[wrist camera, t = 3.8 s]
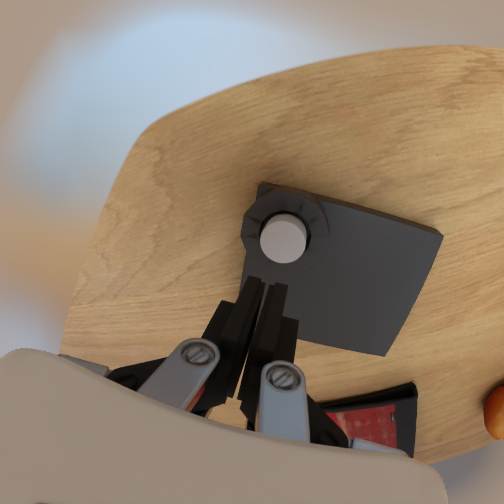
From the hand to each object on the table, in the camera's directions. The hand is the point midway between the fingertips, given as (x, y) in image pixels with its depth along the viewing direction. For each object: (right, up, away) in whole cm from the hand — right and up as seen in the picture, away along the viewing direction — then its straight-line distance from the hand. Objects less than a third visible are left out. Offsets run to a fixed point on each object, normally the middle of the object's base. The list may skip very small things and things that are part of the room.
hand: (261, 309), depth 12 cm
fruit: (+33, -16, +12) cm, 39 cm away
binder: (+14, -23, +19) cm, 33 cm away
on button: (+2, +4, +7) cm, 8 cm away
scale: (+6, 0, +11) cm, 12 cm away
